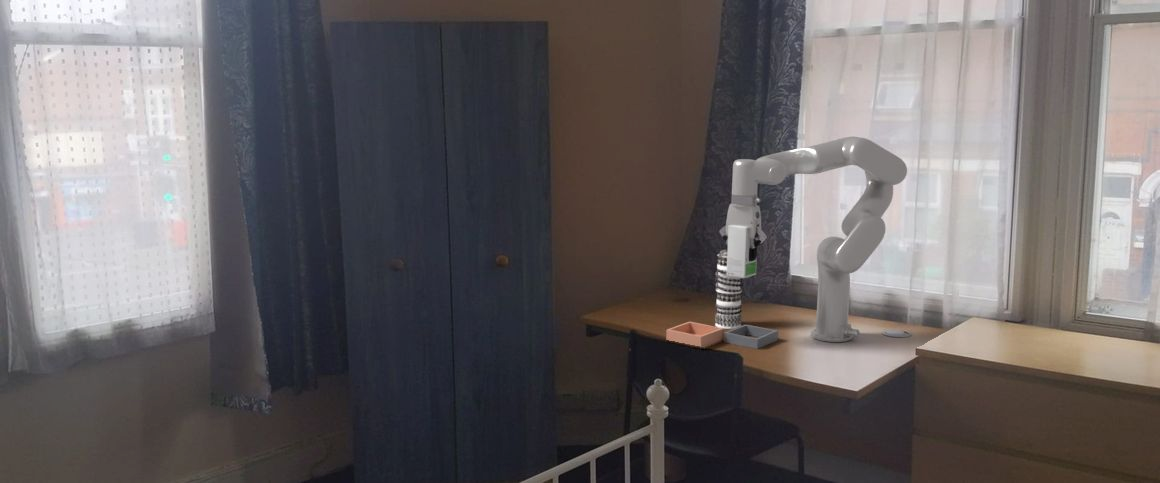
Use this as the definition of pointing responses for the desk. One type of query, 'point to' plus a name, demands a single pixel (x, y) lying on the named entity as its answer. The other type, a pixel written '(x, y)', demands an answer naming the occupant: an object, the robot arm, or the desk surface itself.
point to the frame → (738, 337)
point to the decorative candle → (727, 296)
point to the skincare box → (739, 253)
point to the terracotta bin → (695, 334)
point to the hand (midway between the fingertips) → (741, 258)
